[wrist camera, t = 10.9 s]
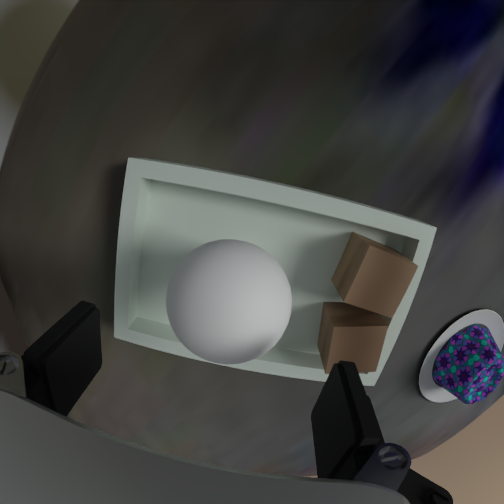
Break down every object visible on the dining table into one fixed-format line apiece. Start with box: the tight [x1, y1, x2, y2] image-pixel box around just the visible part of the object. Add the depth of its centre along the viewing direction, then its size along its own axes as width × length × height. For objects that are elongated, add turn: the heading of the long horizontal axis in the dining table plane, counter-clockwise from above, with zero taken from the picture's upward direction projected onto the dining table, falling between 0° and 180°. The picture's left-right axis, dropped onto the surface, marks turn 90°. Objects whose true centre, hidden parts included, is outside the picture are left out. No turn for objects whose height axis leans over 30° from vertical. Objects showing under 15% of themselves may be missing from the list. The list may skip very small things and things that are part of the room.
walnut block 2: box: [317, 302, 388, 374], centre depth 22 cm, size 4×4×4 cm
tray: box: [114, 158, 437, 386], centre depth 23 cm, size 22×14×3 cm, turn 78°
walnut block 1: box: [331, 232, 418, 318], centre depth 21 cm, size 4×4×4 cm
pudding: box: [419, 310, 504, 404], centre depth 24 cm, size 12×12×5 cm
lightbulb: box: [166, 239, 292, 364], centre depth 17 cm, size 6×6×11 cm
